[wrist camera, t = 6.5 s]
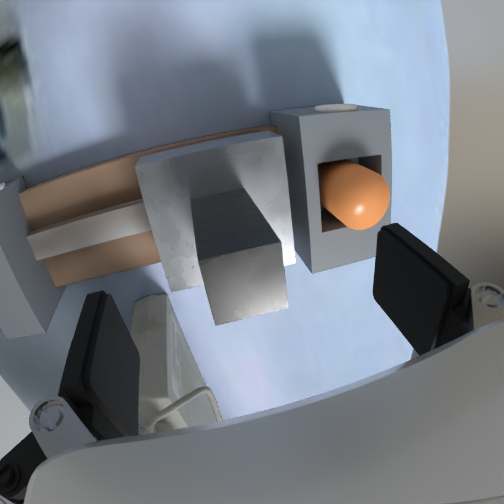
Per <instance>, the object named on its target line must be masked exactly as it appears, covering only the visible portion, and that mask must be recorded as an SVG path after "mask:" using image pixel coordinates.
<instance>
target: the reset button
mask: <svg viewBox="0 0 504 504" xmlns="http://www.w3.org/2000/svg"><path fill="white" fill-rule="evenodd" d="M317 167H318V180H319V194H320V204H321V205H322V206H323V207H324V208H326V209H327V210H328V211H329V212H330V213H332V214H333V215H334V216H335V217H336V218H338V219H339V220H340V221H341V222H342V223H344V224H345V225H346V226H347V227H349V228H351V229H354V230H364V229H367V228H370V227H372V226H373V225H375V224H376V223H377V222H379V221H380V219H381V218H382V217H383V216H384V214H385V212H386V210H387V208H388V205H389V200H390V191H389V187H388V184H387V182H386V180H385V179H384V178H383V177H382V176H381V175H380V174H378V173H376V172H374V171H372V170H370V169H368V168H366V167H364V166H361V165H359V164H357V163H355V162H352V161H350V160H348V159H343V160H336V161H329V162H323V163H319V164H318V166H317Z"/></svg>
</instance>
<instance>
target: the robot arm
mask: <svg viewBox="0 0 504 504" xmlns="http://www.w3.org/2000/svg"><path fill="white" fill-rule="evenodd" d="M469 282H470V280H469V279H467V278H466V277H465V276H464V275H463V274H461V273H460V272H459V271H458V270H457V269H455V268H454V267H453V266H452V265H451V264H450V263H448V262H447V261H446V260H444V259H443V258H442V257H441V256H440V255H438V254H437V253H436V252H435V251H433V250H432V249H431V248H430V247H428V246H427V245H426V244H425V243H423V242H422V241H421V240H419V239H418V238H417V237H415V236H414V235H413V234H412V233H410V232H409V231H408V230H406V229H405V228H404V227H402V226H401V225H399V224H398V223H393V224H389V225H384V226H382V227H381V229H380V231H378V233H377V245H376V260H375V272H374V283H373V296H374V299H375V301H376V302H377V303H378V304H379V305H380V307H381V308H382V309H383V310H384V312H385V313H386V314H387V315H388V317H389V318H390V319H391V320H392V321H393V323H394V324H395V325H396V326H397V328H398V329H399V330H400V331H401V333H402V334H403V335H404V337H405V338H406V339H407V340H408V342H409V343H410V344H411V345H412V347H413V348H414V349H415V351H416V352H417V353H418V354H419V356H418V357H416V358H414V359H412V360H409V361H407V362H405V363H402V364H400V365H398V366H395V367H393V368H390V369H388V370H386V371H383V372H381V373H378V374H375V375H373V376H370V377H368V378H365V379H362V380H360V381H357V382H354V383H352V384H349V385H346V386H343V387H340V388H338V389H335V390H332V391H329V392H326V393H323V394H320V395H316V396H313V397H310V398H307V399H304V400H300V401H297V402H294V403H290V404H287V405H283V406H280V407H276V408H272V409H268V410H265V411H261V412H257V413H253V414H249V415H245V416H241V417H236V418H232V419H227V420H223V421H218V422H213V423H208V424H203V425H198V426H192V427H186V428H180V429H175V430H169V431H163V432H156V433H149V434H142V435H138V407H139V374H140V355H139V351H138V349H137V347H136V345H135V343H134V341H133V339H132V337H131V335H130V333H129V331H128V329H127V327H126V325H125V323H124V321H123V319H122V317H121V315H120V313H119V311H118V309H117V306H116V304H115V302H114V300H113V298H112V296H111V295H110V294H106V293H105V292H104V291H99V292H94V293H90V294H87V296H86V299H85V302H84V305H83V308H82V311H81V314H80V317H79V321H78V324H77V327H76V331H75V334H74V337H73V339H72V342H71V346H70V349H69V353H68V357H67V360H66V364H65V368H64V372H63V376H62V380H61V384H60V389H59V393H58V396H49V397H45V398H43V399H42V400H40V401H39V402H38V403H37V404H36V405H35V406H34V408H33V409H32V411H31V413H30V417H29V425H30V428H31V430H32V432H31V433H30V434H28V435H27V436H26V437H25V438H24V439H23V440H22V441H21V442H20V443H19V444H17V445H16V446H15V447H14V448H13V449H12V450H11V451H10V452H9V453H8V454H6V455H5V456H4V457H3V458H2V459H1V460H0V504H504V290H502V289H501V288H500V287H498V286H496V285H494V284H490V283H479V284H476V285H475V286H474V287H473V288H472V290H471V289H469V288H468V286H469Z"/></svg>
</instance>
